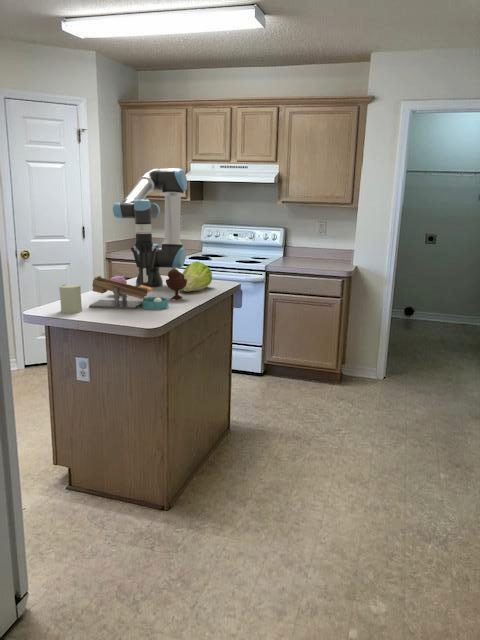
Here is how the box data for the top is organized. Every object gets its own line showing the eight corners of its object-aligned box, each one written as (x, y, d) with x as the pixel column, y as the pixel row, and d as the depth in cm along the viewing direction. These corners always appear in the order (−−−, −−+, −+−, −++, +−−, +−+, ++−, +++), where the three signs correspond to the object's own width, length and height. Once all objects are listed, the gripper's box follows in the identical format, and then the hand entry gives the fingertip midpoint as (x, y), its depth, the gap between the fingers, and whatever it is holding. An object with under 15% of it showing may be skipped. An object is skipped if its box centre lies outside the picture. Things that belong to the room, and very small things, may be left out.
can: (66, 308, 235) (64, 282, 232) (85, 308, 234) (83, 283, 231) (57, 312, 226) (55, 286, 223) (77, 313, 225) (75, 286, 222)
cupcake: (129, 295, 264) (128, 276, 261) (112, 297, 260) (111, 277, 257) (124, 292, 271) (123, 273, 269) (108, 293, 268) (107, 274, 265)
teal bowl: (147, 303, 246) (147, 296, 245) (170, 304, 244) (170, 297, 243) (139, 309, 235) (139, 301, 234) (164, 310, 233) (164, 302, 232)
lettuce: (202, 303, 271) (176, 304, 276) (217, 280, 289) (192, 281, 295) (194, 278, 263) (167, 280, 269) (210, 257, 282) (185, 259, 288)
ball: (154, 296, 240) (163, 296, 240) (155, 304, 241) (163, 305, 241) (152, 298, 236) (160, 298, 236) (152, 306, 237) (160, 307, 237)
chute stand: (100, 301, 249) (98, 282, 247) (143, 303, 247) (142, 283, 244) (89, 307, 237) (87, 287, 234) (135, 309, 234) (134, 289, 232)
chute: (105, 284, 254) (107, 272, 252) (151, 296, 252) (153, 284, 250) (91, 291, 237) (93, 278, 235) (140, 304, 236) (143, 290, 234)
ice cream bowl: (184, 301, 252) (183, 271, 248) (162, 300, 254) (161, 270, 250) (190, 297, 262) (190, 267, 258) (169, 295, 264) (169, 267, 260)
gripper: (127, 233, 239) (130, 282, 246) (154, 234, 238) (156, 283, 244) (132, 231, 246) (135, 280, 253) (159, 232, 245) (160, 280, 251)
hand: (145, 281), depth 248 cm, fingers closed
